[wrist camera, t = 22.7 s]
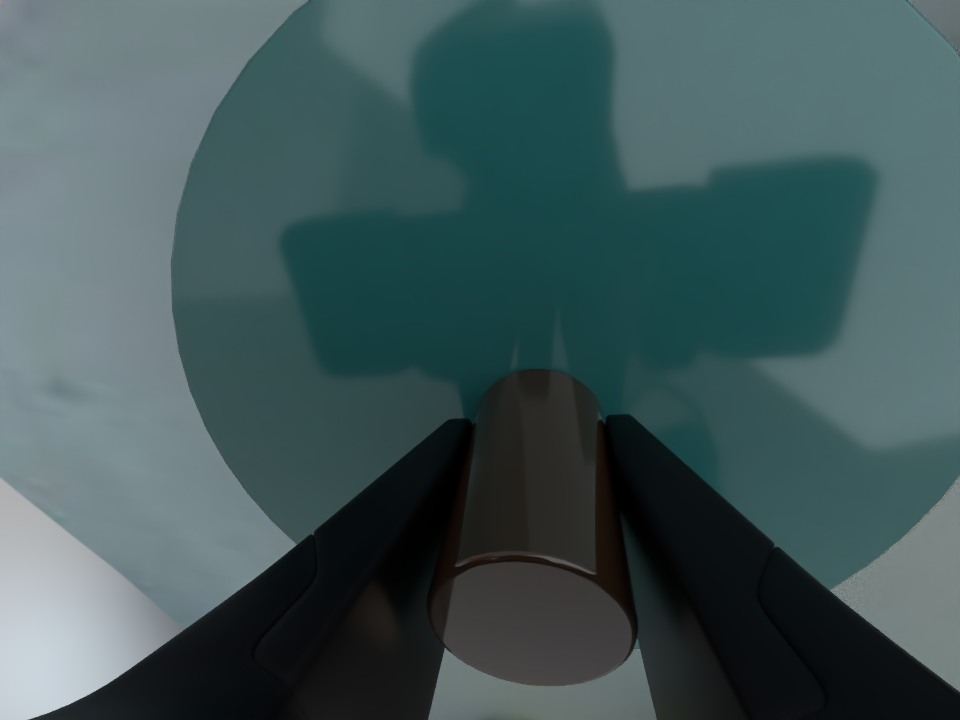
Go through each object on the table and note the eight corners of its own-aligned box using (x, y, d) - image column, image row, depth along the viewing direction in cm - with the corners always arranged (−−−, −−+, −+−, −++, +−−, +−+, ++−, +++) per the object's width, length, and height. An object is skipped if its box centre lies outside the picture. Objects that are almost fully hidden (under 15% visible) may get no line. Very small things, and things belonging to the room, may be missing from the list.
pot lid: (653, 672, 14) (702, 944, 9) (187, 485, 13) (-13, 685, 8) (1237, 205, 6) (2802, 401, 2) (261, -300, 5) (-992, -2101, 1)
